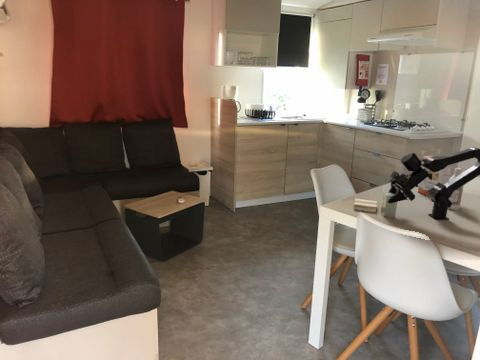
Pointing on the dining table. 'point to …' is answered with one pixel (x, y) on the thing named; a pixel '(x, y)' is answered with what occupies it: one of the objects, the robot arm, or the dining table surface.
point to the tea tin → (388, 205)
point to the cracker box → (434, 179)
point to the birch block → (365, 205)
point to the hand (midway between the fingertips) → (386, 201)
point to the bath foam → (456, 192)
